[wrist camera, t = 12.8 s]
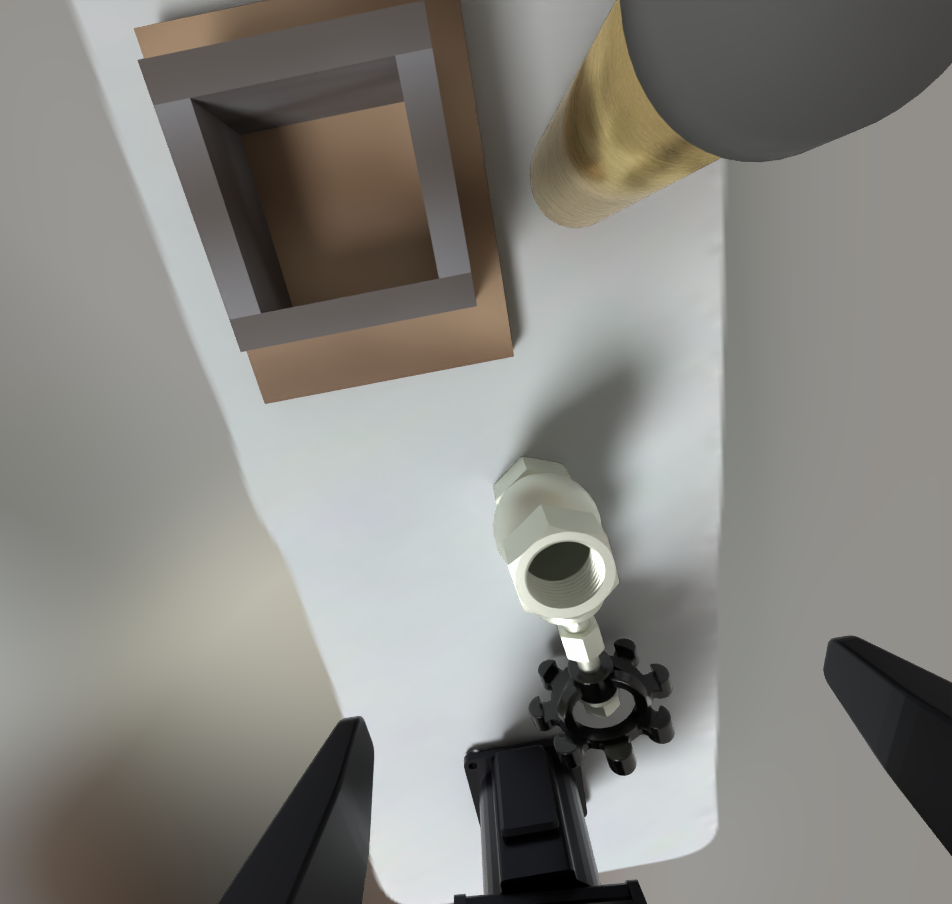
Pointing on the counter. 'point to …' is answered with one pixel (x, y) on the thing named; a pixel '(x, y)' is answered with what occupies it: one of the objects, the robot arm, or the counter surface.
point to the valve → (574, 613)
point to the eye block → (335, 185)
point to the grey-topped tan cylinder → (726, 90)
